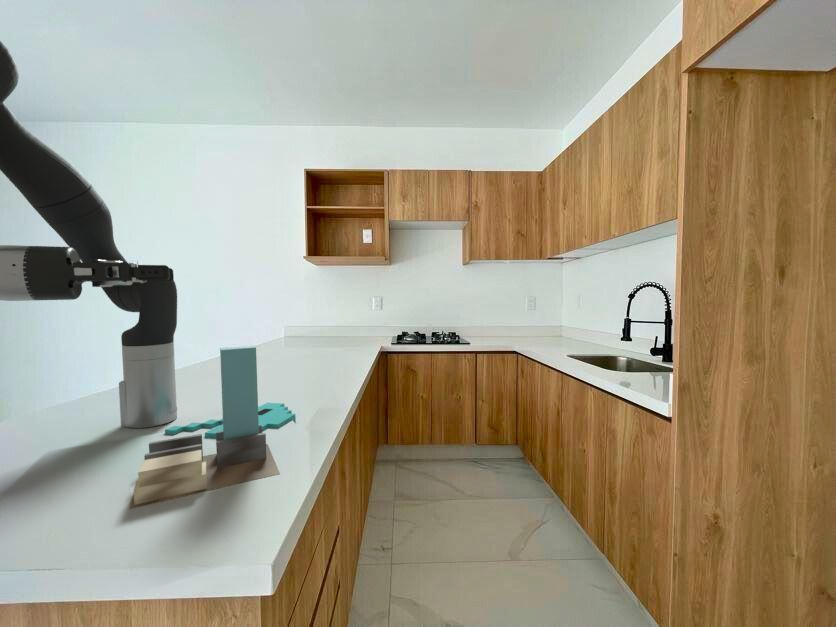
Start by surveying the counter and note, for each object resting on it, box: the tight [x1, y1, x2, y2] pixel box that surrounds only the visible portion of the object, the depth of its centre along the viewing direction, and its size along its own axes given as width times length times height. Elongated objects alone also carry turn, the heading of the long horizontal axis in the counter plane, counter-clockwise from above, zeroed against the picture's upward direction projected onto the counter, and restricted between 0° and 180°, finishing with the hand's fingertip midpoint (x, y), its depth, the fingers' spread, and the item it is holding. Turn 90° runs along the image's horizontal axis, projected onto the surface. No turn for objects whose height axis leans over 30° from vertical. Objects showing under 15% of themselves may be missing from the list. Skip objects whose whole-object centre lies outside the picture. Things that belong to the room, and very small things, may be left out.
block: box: [219, 345, 259, 440], centre depth 61 cm, size 5×2×18 cm, turn 122°
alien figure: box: [164, 402, 297, 439], centre depth 81 cm, size 20×2×20 cm
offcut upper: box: [137, 450, 202, 487], centre depth 52 cm, size 7×4×2 cm, turn 119°
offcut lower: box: [133, 462, 207, 505], centre depth 52 cm, size 8×4×2 cm, turn 119°
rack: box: [128, 424, 281, 510], centre depth 57 cm, size 18×13×5 cm
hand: (171, 273), depth 60 cm, fingers open, 8 cm apart
